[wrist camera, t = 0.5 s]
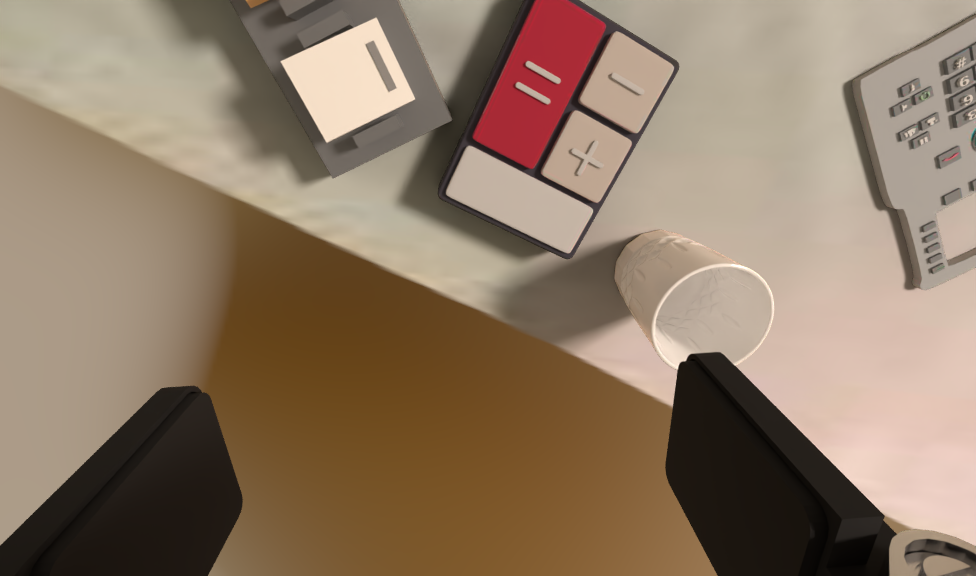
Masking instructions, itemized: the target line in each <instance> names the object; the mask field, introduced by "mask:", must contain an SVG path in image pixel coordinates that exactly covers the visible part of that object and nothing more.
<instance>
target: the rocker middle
mask: <svg viewBox="0 0 976 576" xmlns="http://www.w3.org/2000/svg"><path fill="white" fill-rule="evenodd" d="M266 1H269V0H246V2H247V3H248V5H249V6H250V8H253V7H255V6H257V5H260V4H262V3H264V2H266Z"/></svg>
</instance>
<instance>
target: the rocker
mask: <svg viewBox="0 0 976 576" xmlns="http://www.w3.org/2000/svg"><path fill="white" fill-rule="evenodd" d="M280 62H281V63H282V65H283V67H284V69H285V70H286V72H287V74H288V76H289V77H290V79H291V81H292V83H293V84H294V86H295V88H296V90H297V91H298V93H299V95H300V97H301V99H302V100H303V102H304V104H305V106H306V107H307V109H308V111H309V113H310V114H311V116H312V118H313V120H314V121H315V123H316V125H317V127H318V128H319V130H320V132H321V134H322V136H323V137H324V139H325V141H326V143H328V142H330V141H332V140H334V139H337V138H339V137H341V136H343V135H345V134H347V133H349V132H351V131H353V130H355V129H357V128H359V127H361V126H363V125H365V124H367V123H369V122H371V121H373V120H375V119H377V118H379V117H381V116H384V115H386V114H388V113H390V112H392V111H394V110H396V109H398V108H400V107H402V106H404V105H406V104H408V103H410V102H412V101H414V100H415V97H414V95H413V93H412V91H411V89H410V87H409V85H408V82H407V80H406V78H405V76H404V74H403V72H402V70H401V68H400V66H399V64H398V62H397V59H396V57H395V55H394V53H393V51H392V49H391V47H390V45H389V43H388V41H387V38H386V36H385V34H384V32H383V30H382V28H381V26H380V24H379V22H378V20H377V18H374V19H372V20H370V21H368V22H365V23H363V24H361V25H359V26H357V27H354V28H352V29H350V30H348V31H346V32H344V33H341V34H339V35H337V36H335V37H333V38H330V39H328V40H326V41H324V42H322V43H320V44H317V45H315V46H313V47H311V48H309V49H306V50H304V51H302V52H300V53H298V54H295V55H293V56H291V57H289V58H287V59H285V60H282V61H280Z"/></svg>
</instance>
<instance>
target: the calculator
mask: <svg viewBox="0 0 976 576" xmlns="http://www.w3.org/2000/svg"><path fill="white" fill-rule="evenodd" d="M678 70H679V63H678V62H677V61H676V60H675V59H673V58H671V57H670V56H668V55H667V54H665V53H663V52H662V51H660V50H659V49H657V48H655V47H654V46H652V45H650V44H649V43H647V42H646V41H644V40H642V39H641V38H639V37H638V36H636V35H634V34H633V33H631V32H630V31H628V30H626V29H625V28H623V27H621V26H620V25H618V24H617V23H615V22H613V21H612V20H610V19H609V18H607V17H605V16H604V15H602V14H600V13H599V12H597V11H596V10H594V9H592V8H591V7H589V6H588V5H586V4H584V3H583V2H581V1H580V0H524V1H523V3H522V6H521V8H520V10H519V12H518V14H517V17H516V19H515V21H514V23H513V25H512V27H511V30H510V32H509V34H508V36H507V38H506V41H505V43H504V45H503V47H502V49H501V51H500V54H499V56H498V58H497V60H496V62H495V65H494V67H493V69H492V71H491V73H490V75H489V78H488V80H487V82H486V84H485V86H484V89H483V91H482V93H481V95H480V97H479V100H478V102H477V104H476V106H475V108H474V110H473V113H472V115H471V117H470V119H469V121H468V124H467V126H466V128H465V130H464V132H463V134H462V136H461V139H460V141H459V143H458V145H457V147H456V149H455V151H454V154H453V156H452V158H451V160H450V162H449V165H448V167H447V169H446V171H445V173H444V175H443V178H442V180H441V182H440V184H439V188H438V196H439V198H440V199H442V200H443V201H445V202H447V203H450V204H452V205H454V206H456V207H458V208H460V209H462V210H464V211H466V212H468V213H470V214H473V215H475V216H477V217H479V218H481V219H483V220H485V221H487V222H489V223H491V224H493V225H495V226H498V227H500V228H502V229H504V230H506V231H508V232H510V233H512V234H514V235H516V236H518V237H520V238H523V239H525V240H527V241H529V242H531V243H533V244H535V245H537V246H539V247H541V248H543V249H546V250H548V251H550V252H552V253H554V254H556V255H558V256H560V257H562V258H565V259H570V258H572V257H573V255H574V254H575V252H576V250H577V248H578V247H579V245H580V243H581V241H582V240H583V238H584V236H585V234H586V233H587V231H588V229H589V227H590V226H591V224H592V222H593V220H594V218H595V217H596V215H597V213H598V211H599V210H600V208H601V206H602V204H603V203H604V201H605V199H606V197H607V196H608V194H609V192H610V190H611V188H612V187H613V185H614V183H615V181H616V180H617V178H618V176H619V174H620V173H621V171H622V169H623V167H624V166H625V164H626V162H627V160H628V158H629V157H630V155H631V153H632V151H633V150H634V148H635V146H636V144H637V143H638V141H639V139H640V137H641V136H642V134H643V132H644V130H645V128H646V127H647V125H648V123H649V121H650V120H651V118H652V116H653V114H654V113H655V111H656V109H657V107H658V105H659V104H660V102H661V100H662V98H663V97H664V95H665V93H666V91H667V90H668V88H669V86H670V84H671V83H672V81H673V79H674V77H675V75H676V74H677V72H678Z"/></svg>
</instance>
